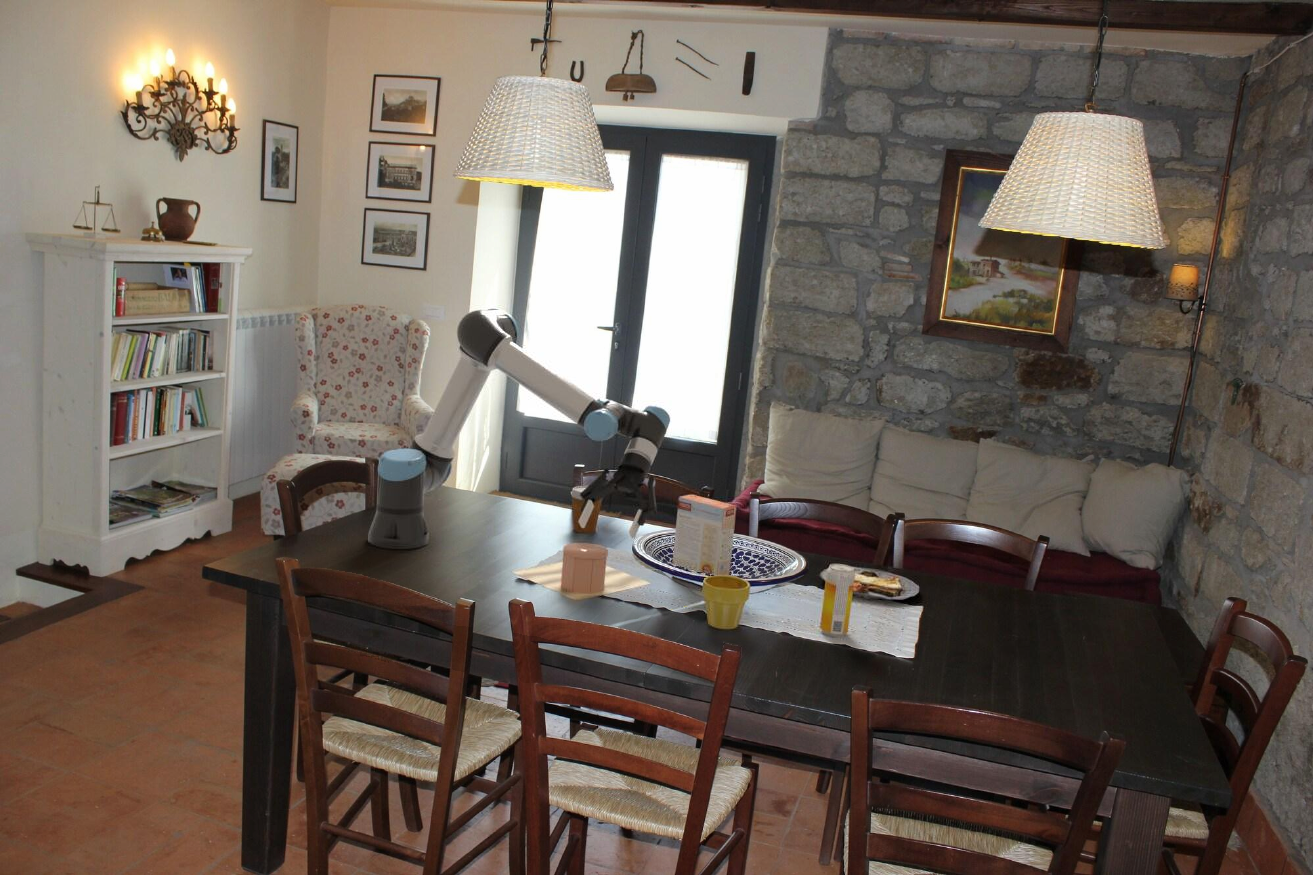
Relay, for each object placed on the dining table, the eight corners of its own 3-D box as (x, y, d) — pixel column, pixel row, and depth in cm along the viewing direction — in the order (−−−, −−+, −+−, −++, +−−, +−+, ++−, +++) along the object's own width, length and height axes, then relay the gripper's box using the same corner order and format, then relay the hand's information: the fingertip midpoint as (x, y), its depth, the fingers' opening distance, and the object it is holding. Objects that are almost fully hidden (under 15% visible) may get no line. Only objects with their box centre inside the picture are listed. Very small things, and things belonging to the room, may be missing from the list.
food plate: (814, 591, 247) (816, 578, 246) (823, 568, 269) (825, 556, 268) (916, 612, 241) (919, 598, 240) (918, 586, 263) (920, 573, 262)
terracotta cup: (551, 583, 233) (554, 546, 232) (584, 576, 241) (587, 540, 239) (580, 596, 226) (583, 558, 225) (613, 588, 234) (617, 552, 232)
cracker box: (729, 587, 245) (738, 505, 241) (714, 592, 240) (723, 508, 237) (685, 572, 253) (693, 492, 250) (670, 576, 249) (677, 495, 245)
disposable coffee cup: (563, 526, 287) (566, 485, 285) (593, 525, 291) (597, 485, 289) (574, 535, 279) (577, 493, 277) (606, 534, 283) (609, 493, 281)
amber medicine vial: (841, 627, 223) (849, 563, 221) (851, 637, 217) (859, 572, 215) (815, 627, 222) (823, 562, 219) (824, 637, 216) (833, 571, 214)
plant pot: (689, 622, 217) (693, 579, 216) (717, 612, 225) (721, 571, 224) (727, 636, 211) (732, 592, 209) (754, 626, 219) (759, 583, 217)
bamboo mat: (511, 574, 239) (511, 571, 239) (585, 559, 256) (585, 557, 256) (576, 603, 223) (576, 600, 223) (651, 585, 240) (651, 583, 240)
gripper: (686, 476, 248) (656, 547, 237) (597, 461, 258) (565, 529, 246) (680, 458, 242) (649, 530, 231) (589, 443, 252) (556, 512, 241)
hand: (606, 530), depth 239 cm, fingers open, 13 cm apart
